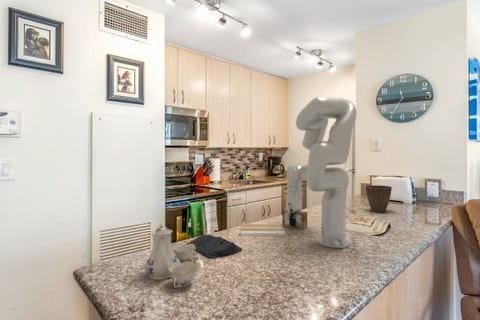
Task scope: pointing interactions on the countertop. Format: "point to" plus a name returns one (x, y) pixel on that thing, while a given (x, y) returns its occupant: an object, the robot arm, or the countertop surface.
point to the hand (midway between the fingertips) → (294, 224)
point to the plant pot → (378, 197)
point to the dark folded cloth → (214, 246)
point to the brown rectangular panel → (300, 219)
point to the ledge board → (262, 230)
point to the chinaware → (170, 259)
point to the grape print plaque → (365, 224)
